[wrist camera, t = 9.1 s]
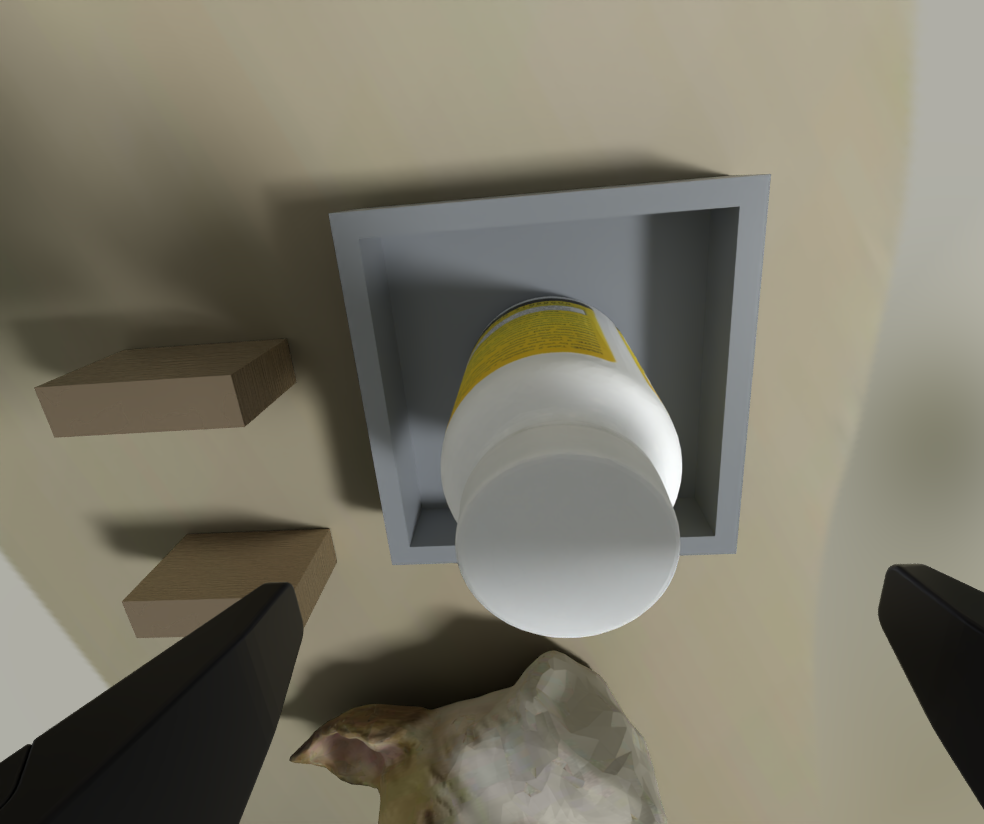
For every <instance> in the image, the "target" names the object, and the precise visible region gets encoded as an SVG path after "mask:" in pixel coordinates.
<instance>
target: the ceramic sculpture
mask: <svg viewBox="0 0 984 824" xmlns="http://www.w3.org/2000/svg"><path fill="white" fill-rule="evenodd" d="M289 761H291V762H293V763H302V764H312V765H317V766H321V767H325V768H327V769H328V770H329V771H330V772H331V773H333V774H334V775H336V776H337V777H338V778H339V779H341V780H342V781H345V782H347V783H350V784H354V785H364V786H370V787H373V788H377V789H378V791H379V793H380V800H381V802H380V811H379V820H378V824H667V818H666V815H665V811H664V808H663V805H662V802H661V797H660V793H659V788H658V784H657V780H656V775H655V771H654V768H653V765H652V761H651V758H650V754H649V751H648V748H647V744H646V741H645V739H644V737H643V736H642V735H641V734H640V733H639V732H638V731H637V729H636V728H635V727H634V726H633V725H632V724H631V723H630V721H629V720H628V718H627V717H626V716H625V714H624V712H623V711H622V709H621V707H620V706H619V704H618V702H617V700H616V699H615V697H614V695H613V694H612V692H611V690H610V689H609V687H608V685H607V683H606V682H605V681H604V680H603V679H602V677H601V676H600V675H599V674H597V673H596V672H594V671H592V670H591V669H589V668H588V667H586V666H583V665H581V664H579V663H577V662H576V661H574V660H573V659H571V658H570V657H568V656H567V655H566V654H563V653H561V652H558V651H548V652H546V653H544V654H542V655H540V656H539V657H538V658H537V659H536V660H535V661H534V662H533V663H532V664H531V665H530V666H529V667H528V668H527V669H526V670H525V671H524V673H523V674H522V675H521V677H520V678H519V680H518V681H517V682H516V684H515V685H514V686H512V687H510V688H506V689H502V690H498V691H494V692H491V693H489V694H486V695H483V696H481V697H477V698H473V699H468V700H464V701H459V702H456V703H453V704H449V705H446V706H443V707H440V708H436V709H433V710H429V709H426V708H423V707H412V706H397V705H385V704H370V705H364V706H360V707H356V708H353V709H351V710H348V711H346V712H345V713H343V714H341V715H340V716H338V717H336V718H334V719H332V720H330V721H328V722H327V723H325V724H324V725H323V726H322V727H320V728H319V729H318V730H316V731H315V732H314V733H313V735H312V736H311V737H310V738H309V739H308V740H307V741H306V742H305V743H304V744H303V745H302V746H301V747H300V748H299V749H298V750H297V751H296V752H295V753H294V754H293V755H292V756H291V757H290V760H289Z"/></svg>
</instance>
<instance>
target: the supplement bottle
mask: <svg viewBox="0 0 984 824" xmlns="http://www.w3.org/2000/svg"><path fill="white" fill-rule="evenodd" d="M681 476H682V456H681V448H680V444H679V439H678V435H677V433H676V430H675V427H674V425H673V423H672V421H671V418H670V416H669V414H668V412H667V410H666V408H665V407H664V405H663V403H662V402H661V400H660V398H659V397H658V395H657V393H656V392H655V390H654V388H653V387H652V385H651V383H650V381H649V380H648V378H647V376H646V374H645V373H644V370H643V369H642V368H641V366H640V364H639V362H638V361H637V358H636V357H635V355H634V353H633V352H632V350H631V348H630V346H629V345H628V343H627V341H626V340H625V338H624V337H623V335H622V334H621V332H620V331H619V330H618V328H617V327H616V326H615V325H614V324H613V322H612V321H611V320H610V319H609V318H608V317H606V316H605V315H604V314H603V313H602V312H600V311H599V310H597V309H596V308H594V307H592V306H590V305H588V304H586V303H583V302H581V301H578V300H575V299H571V298H566V297H557V296H547V297H538V298H533V299H529V300H526V301H523V302H520V303H518V304H515V305H513V306H511V307H510V308H508V309H506V310H505V311H503V312H502V313H500V314H499V315H498V316H497V317H496V318H495V319H493V320H492V321H491V322H490V323H489V325H488V326H487V327H486V328H485V329H484V331H483V332H482V334H481V335H480V337H479V339H478V340H477V342H476V344H475V346H474V348H473V350H472V353H471V355H470V358H469V360H468V363H467V366H466V370H465V373H464V376H463V379H462V382H461V385H460V389H459V392H458V395H457V398H456V401H455V404H454V407H453V411H452V414H451V417H450V420H449V423H448V426H447V429H446V432H445V437H444V441H443V446H442V453H441V480H442V486H443V492H444V495H445V498H446V501H447V504H448V506H449V508H450V511H451V513H452V515H453V517H454V519H455V520H456V522H457V528H456V538H455V549H456V557H457V562H458V566H459V569H460V572H461V574H462V577H463V579H464V581H465V583H466V584H467V586H468V588H469V589H470V591H471V592H472V594H473V595H474V596H475V597H476V599H477V600H478V601H479V602H480V603H481V604H482V605H483V606H484V607H485V608H486V609H487V610H488V611H490V612H491V613H492V614H493V615H495V616H496V617H498V618H499V619H501V620H503V621H504V622H506V623H508V624H509V625H512V626H514V627H516V628H519V629H521V630H524V631H527V632H531V633H534V634H538V635H543V636H549V637H556V638H579V637H586V636H593V635H598V634H601V633H605V632H608V631H611V630H614V629H617V628H619V627H621V626H623V625H625V624H627V623H629V622H631V621H633V620H634V619H636V618H637V617H639V616H640V615H641V614H643V613H644V612H645V611H646V610H648V609H649V608H650V607H651V606H652V605H653V604H654V603H655V602H656V601H657V600H658V599H659V598H660V597H661V596H662V594H663V593H664V592H665V590H666V589H667V587H668V586H669V584H670V582H671V580H672V578H673V576H674V573H675V571H676V567H677V563H678V559H679V554H680V531H679V525H678V521H677V517H676V514H675V511H674V509H673V506H674V504H675V501H676V499H677V496H678V492H679V488H680V484H681Z"/></svg>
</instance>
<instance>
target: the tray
mask: <svg viewBox="0 0 984 824" xmlns="http://www.w3.org/2000/svg"><path fill="white" fill-rule="evenodd" d="M770 179H771V174H761V175H730V176H719V177H707V178H696V179H685V180H674V181H663V182H651V183H640V184H629V185H618V186H607V187H595V188H584V189H573V190H562V191H551V192H539V193H528V194H517V195H506V196H495V197H483V198H472V199H461V200H450V201H439V202H427V203H416V204H405V205H394V206H383V207H371V208H360V209H354V210H347V211H341V212H335V213H329V219H330V225H331V230H332V236H333V241H334V247H335V252H336V258H337V263H338V269H339V274H340V280H341V285H342V291H343V296H344V302H345V307H346V313H347V318H348V324H349V329H350V335H351V340H352V346H353V351H354V357H355V362H356V368H357V373H358V379H359V384H360V390H361V395H362V401H363V406H364V412H365V417H366V423H367V428H368V434H369V439H370V445H371V450H372V456H373V461H374V467H375V472H376V478H377V483H378V489H379V494H380V500H381V505H382V511H383V516H384V522H385V527H386V533H387V538H388V544H389V549H390V555H391V560H392V565H406V564H436V563H458V562H457V557H456V549H455V538H456V528H457V522H456V520H455V519H454V517H453V515H452V513H451V511H450V508H449V506H448V504H447V501H446V498H445V495H444V492H443V486H442V480H441V453H442V446H443V441H444V437H445V432H446V429H447V426H448V423H449V420H450V417H451V414H452V411H453V407H454V404H455V401H456V398H457V395H458V392H459V389H460V385H461V382H462V379H463V376H464V373H465V370H466V366H467V363H468V360H469V358H470V355H471V353H472V350H473V348H474V346H475V344H476V342H477V340H478V339H479V337H480V335H481V334H482V332H483V331H484V329H485V328H486V327H487V326H488V325H489V323H490V322H491V321H492V320H493V319H495V318H496V317H497V316H498V315H499V314H500V313H502V312H503V311H505V310H506V309H508V308H510V307H511V306H513V305H515V304H518V303H520V302H523V301H526V300H529V299H533V298H538V297H547V296H557V297H566V298H571V299H575V300H578V301H581V302H583V303H586V304H588V305H590V306H592V307H594V308H596V309H597V310H599V311H600V312H602V313H603V314H604V315H605V316H606V317H608V318H609V319H610V320H611V321H612V322H613V324H614V325H615V326H616V327H617V328H618V330H619V331H620V332H621V334H622V335H623V337H624V338H625V340H626V341H627V343H628V345H629V346H630V348H631V350H632V352H633V353H634V355H635V357H636V358H637V361H638V362H639V364H640V366H641V368H642V369H643V370H644V373H645V374H646V376H647V378H648V380H649V381H650V383H651V385H652V387H653V388H654V390H655V392H656V393H657V395H658V397H659V398H660V400H661V402H662V403H663V405H664V407H665V408H666V410H667V412H668V414H669V416H670V418H671V421H672V423H673V425H674V427H675V430H676V433H677V435H678V439H679V444H680V448H681V456H682V476H681V484H680V488H679V492H678V496H677V499H676V501H675V504H674V506H673V509H674V511H675V514H676V517H677V521H678V525H679V531H680V554H679V555H708V554H736V549H737V538H738V527H739V516H740V506H741V495H742V484H743V473H744V462H745V451H746V440H747V429H748V419H749V408H750V397H751V386H752V375H753V364H754V353H755V342H756V331H757V321H758V310H759V299H760V288H761V277H762V266H763V255H764V244H765V234H766V223H767V212H768V201H769V190H770Z"/></svg>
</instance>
